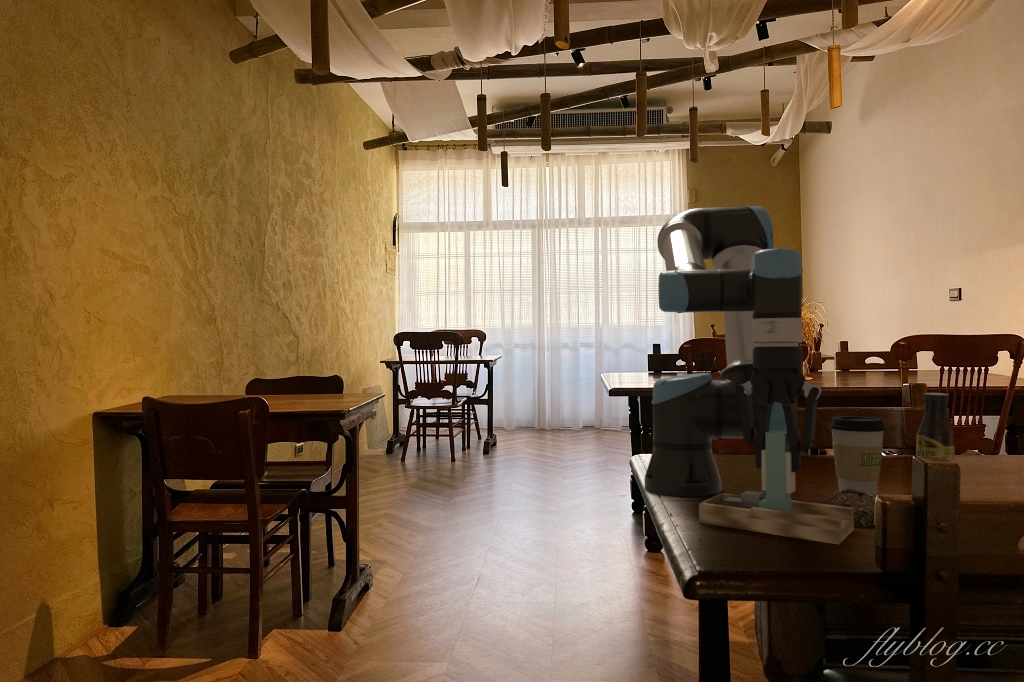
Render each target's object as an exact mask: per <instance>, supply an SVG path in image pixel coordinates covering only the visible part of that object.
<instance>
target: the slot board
mask: <svg viewBox="0 0 1024 682" xmlns="http://www.w3.org/2000/svg"><path fill="white" fill-rule="evenodd" d="M728 497H737V498H741V494H735V493H734V494H733V493H725V492H720V493H718V494H715V495H712V496H711V497H709V498H708V499H705V500H703V501H701V502H699V503H698V523H699V524H700V523H701V524H703V525H704V524H706V525H711V526H712V525H713V526H717V527H724V528H730V529H737V530H743V531H751V532H756V533H757V532H758V533H763V534H770V535H775V536H782V537H788V538H796V539H801V540H806V541H815V542H820V543H827V544H834V545H841V543H842V542H843V541H844V540H845V539H847V537H848V536H849V535H850V534H851V533H852V532H853V531H854V530H855V527H854V508H852V507H844V506H836V505H828V504H820V503H819V502H811V501H803V500H794V499H792V512H788V511H781V510H773V509H766V508H758V507H752V508H750V509H744V508H737V507H730V506H724V503H723V500H724V499H726V498H728Z"/></svg>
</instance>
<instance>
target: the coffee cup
mask: <svg viewBox="0 0 1024 682" xmlns="http://www.w3.org/2000/svg"><path fill="white" fill-rule="evenodd" d="M883 421H884V420H883V419H882V418H879V417H871V416H857V415H855V416H854V415H851V416H849V415H847V416H846V415H845V416H844V415H843V416H841V415H840V416H833V417H832V420H831V423H829V426H828V428H829V429H831V435H832V442H831V443H832V450H833V457H834V465H835V473H836V478H837V483H838V489H839V491H838V492H842V490H848V489H853V490H857V491H861V492H869V493H871V494H875V495H877V494H878V493H877V492H878V491H877V490H878V484H879V483H878V482H879V480H880V473H881V466H882V465H881V464H882V456H883V450H884V449H883V447H884V444H883V440H884V432H885V431H887V427H886V425H884V422H883Z"/></svg>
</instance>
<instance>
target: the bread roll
mask: <svg viewBox="0 0 1024 682" xmlns="http://www.w3.org/2000/svg"><path fill="white" fill-rule="evenodd" d="M876 496H878V495H877V494H876V495H875V494H871V493H869V492H861V491H857V490H853V489H848V490H842V492H840V491H837V490H836V491H833V492H832V493H830V494H829V495H828V496H826V497H824V498H823V499H821V500H820V501H819V502H818V503H820V504H828V505H836V506H844V507H852V508H854V526H856V527H855V528H871V527H875V526H874V505H875V497H876Z"/></svg>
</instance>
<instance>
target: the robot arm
mask: <svg viewBox="0 0 1024 682" xmlns="http://www.w3.org/2000/svg"><path fill="white" fill-rule="evenodd" d="M774 233H775V231H774V226H773V221H772V218H771V215H770V214H769V212H768V210H767V209H766V208H765V207H763V206H759V205H753V206H752V205H751V206H750V205H746V204H745V205H742V206H724V207H723V206H722V207H720V206H718V207H696V208H690V209H686V210H685V211H682V212H680V213H678V214H676V215H674V216H673V217H671V218H670V219H668V221H666V222H665V223H664V224H663V225H662V227H661V228H660V231H659V233H658V235H657V241H656V243H657V250H658V252H659V254H660V256H661V258H662V259H663V260H664V266H665V270H663V271H661V272H660V273H659V275H658V282H657V283H658V286H657V287H658V308H659V309H660V310H661V312H664V313H677V314H683V313H709V312H710V313H712V312H713V313H716V312H723V325H724V327H723V329H724V340H725V353H726V356H725V357H726V367H725V368H724V369H722V370H721V372H720V376H719V378H720V379H713V376H712V374H711V373H709V372H702V373H689V374H688V373H687V374H682V375H676V376H675V375H674V376H669V377H663V378H660V379H658V380H656V381H655V382H654V384H653V387H652V400H651V405H652V452H651V457H650V459H649V463H648V465H647V469H646V471H645V475H644V489H645V490H646V491H648V492H651V493H653V494H658V495H665V496H671V497H688V498H689V497H691V498H692V497H694V498H695V497H706V496H715V495H718V494H720V493H722V478H721V474H720V472H719V470H718V466H717V464H716V460H715V458H714V455H713V448H712V447H713V445H712V444H713V443H712V442H713V439H742V441H743V442H744V444H745V445H749V446H751V447H753V448H754V449H755V467H756V469H761V491H763V492H764V491H765V492H766V442H765V433H766V432H769V431H785V432H787V433H788V439H789V445H790V449H789V451H787V452H785V476H786V493H789V494H791V495H792V493H794V492H795V491H796V473H799V472H801V470H802V468H803V467H802V453H803V451H804V450H808V449H811V448H813V447H814V445H815V435H816V427H817V426H816V425H817V424H816V423H817V411H818V401H819V400H820V397H821V395H822V393H823V388H822V387H821V386H819V385H818V386H817V385H813V384H811V383H810V382H807V380H806V377H805V376H804V373H803V348H802V346H799V344H801V343H802V342H803V316H802V315H803V314H802V312H803V308H802V307H803V304H802V303H803V302H802V301H803V300H802V299H803V298H802V297H803V296H802V295H803V290H802V289H803V288H802V287H803V286H802V285H803V282H802V280H803V279H802V277H803V275H802V274H803V272H804V271H803V268H802V257H801V253H800V251H799V250H797V249H794V248H789V247H788V248H787V247H786V248H785V247H784V248H774V247H775V237H774ZM705 260H711V261H712V266H713V268H714V269H708V268H707V264H706V262H705ZM802 390H804V391H803V395H804V397H805V398H806V399H805V403H804V414H803V427H802V438H801V431H800V427H799V421H798V420H799V419H798V413H797V402H796V398H797V396H798V395H799V394H800V393H801V391H802Z"/></svg>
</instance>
